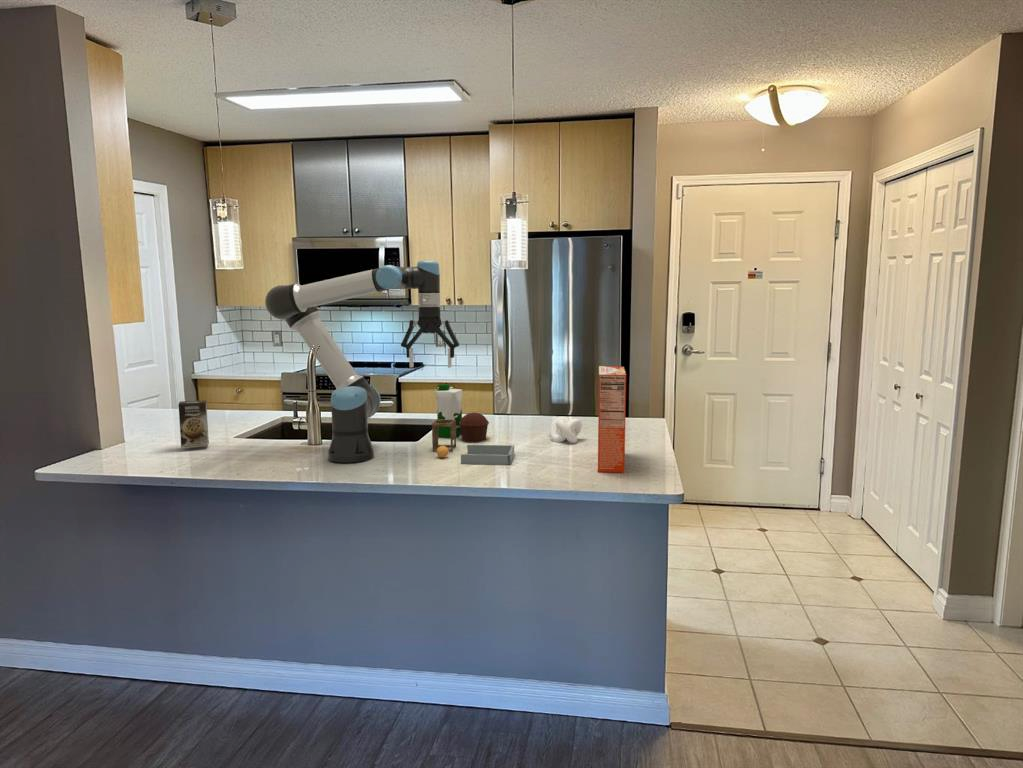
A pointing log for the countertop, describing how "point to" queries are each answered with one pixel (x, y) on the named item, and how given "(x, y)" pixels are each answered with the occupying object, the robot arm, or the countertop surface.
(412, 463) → the countertop surface
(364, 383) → the robot arm
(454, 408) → the milk carton
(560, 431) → the white knot sculpture
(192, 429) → the brown tall box
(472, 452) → the u-shaped frame
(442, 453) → the ball
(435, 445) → the open box frame
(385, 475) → the countertop surface
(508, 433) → the countertop surface
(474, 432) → the muffin
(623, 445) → the cereal box
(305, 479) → the countertop surface
